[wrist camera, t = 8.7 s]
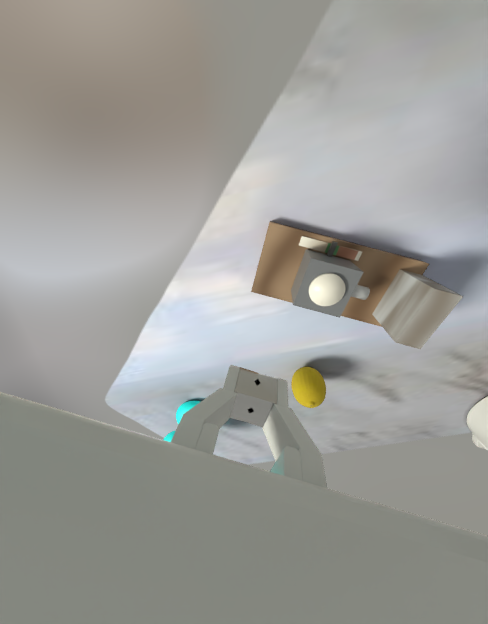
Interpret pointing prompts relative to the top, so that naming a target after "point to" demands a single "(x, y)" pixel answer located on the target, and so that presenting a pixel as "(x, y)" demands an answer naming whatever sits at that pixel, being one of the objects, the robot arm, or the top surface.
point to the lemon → (308, 387)
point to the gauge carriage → (327, 282)
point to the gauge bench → (361, 283)
